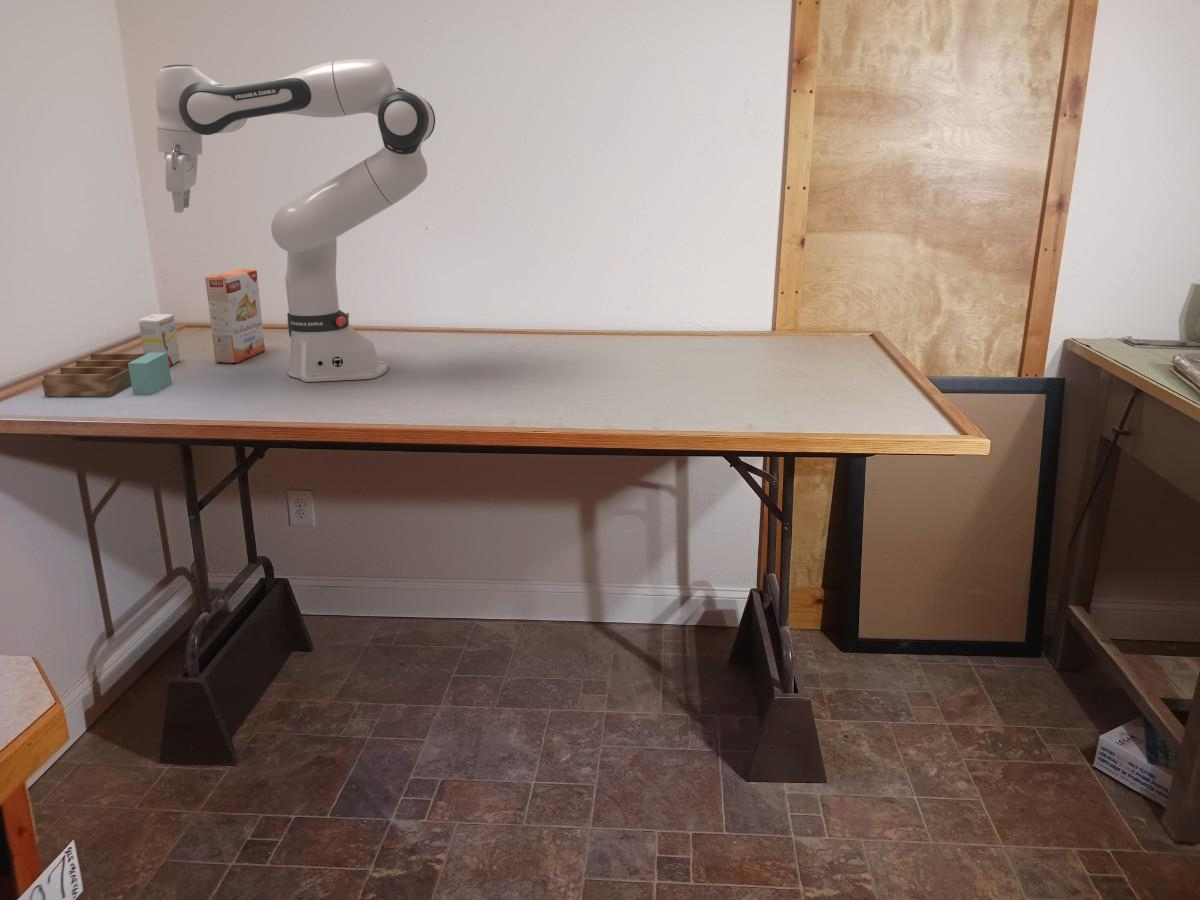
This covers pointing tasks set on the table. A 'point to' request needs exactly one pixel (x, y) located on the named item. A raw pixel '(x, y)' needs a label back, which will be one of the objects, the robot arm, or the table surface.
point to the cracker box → (235, 315)
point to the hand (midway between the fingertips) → (181, 210)
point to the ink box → (160, 336)
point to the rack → (92, 376)
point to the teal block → (149, 373)
